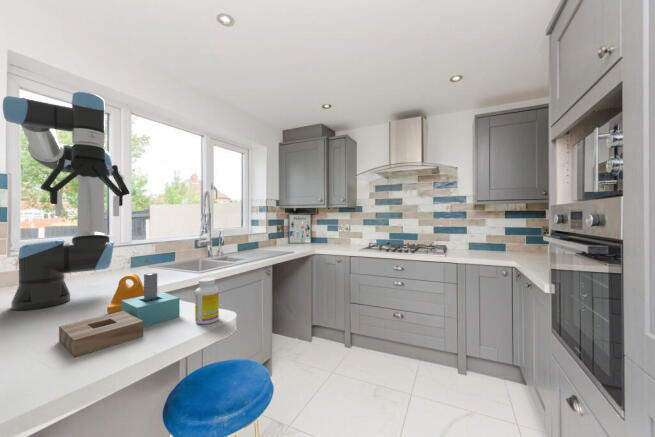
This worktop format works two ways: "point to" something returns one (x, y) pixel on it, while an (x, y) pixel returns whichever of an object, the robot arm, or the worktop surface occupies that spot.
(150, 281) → the steel rod
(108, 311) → the bracket
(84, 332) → the socket block
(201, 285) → the supplement bottle
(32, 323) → the worktop surface
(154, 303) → the block with rectangular slot
